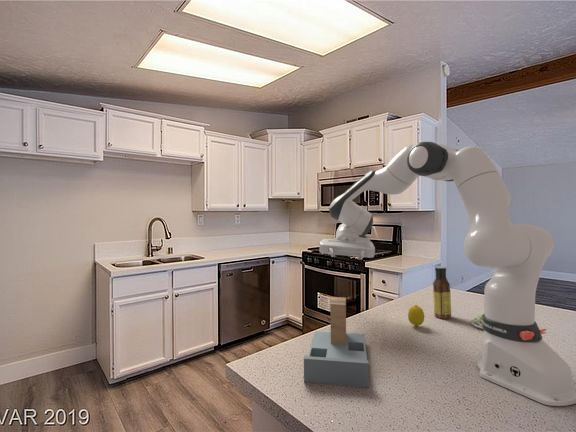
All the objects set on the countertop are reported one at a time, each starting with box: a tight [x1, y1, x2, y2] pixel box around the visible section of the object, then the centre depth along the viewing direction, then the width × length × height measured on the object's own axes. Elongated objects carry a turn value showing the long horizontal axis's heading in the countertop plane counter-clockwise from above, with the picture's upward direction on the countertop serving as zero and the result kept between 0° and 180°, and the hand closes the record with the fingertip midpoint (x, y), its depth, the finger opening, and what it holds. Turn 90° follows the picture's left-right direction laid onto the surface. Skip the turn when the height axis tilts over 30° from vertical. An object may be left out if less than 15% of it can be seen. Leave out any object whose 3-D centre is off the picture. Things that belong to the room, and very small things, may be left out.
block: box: [329, 296, 347, 344], centre depth 102 cm, size 8×4×12 cm, turn 169°
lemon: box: [407, 304, 425, 328], centre depth 119 cm, size 6×6×8 cm
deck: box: [303, 330, 370, 388], centre depth 94 cm, size 26×16×6 cm, turn 169°
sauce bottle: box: [432, 266, 452, 320], centre depth 130 cm, size 6×6×20 cm
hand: (346, 256), depth 115 cm, fingers open, 8 cm apart
